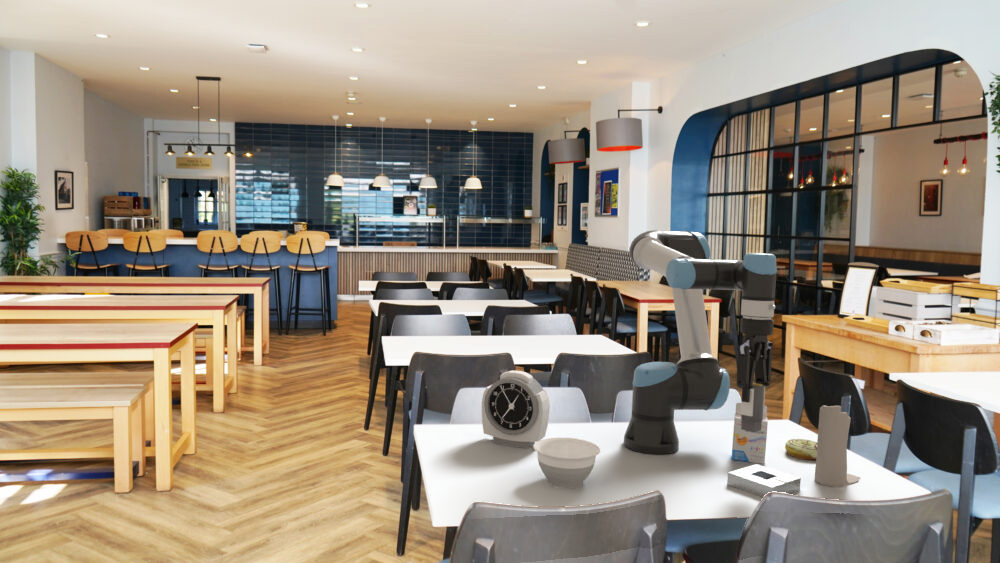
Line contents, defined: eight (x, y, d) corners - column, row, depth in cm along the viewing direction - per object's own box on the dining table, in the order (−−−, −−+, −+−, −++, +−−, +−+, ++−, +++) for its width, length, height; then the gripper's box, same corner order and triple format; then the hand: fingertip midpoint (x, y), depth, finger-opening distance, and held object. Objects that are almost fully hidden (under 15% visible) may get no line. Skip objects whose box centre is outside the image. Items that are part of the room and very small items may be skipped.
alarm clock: (478, 442, 212) (480, 370, 210) (490, 434, 220) (492, 365, 218) (539, 452, 205) (542, 378, 203) (549, 443, 213) (552, 372, 211)
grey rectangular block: (736, 429, 185) (738, 382, 184) (746, 426, 188) (749, 380, 187) (755, 433, 181) (758, 385, 180) (765, 430, 184) (768, 383, 184)
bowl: (550, 497, 172) (552, 460, 172) (521, 474, 187) (522, 440, 186) (611, 489, 179) (613, 454, 178) (577, 468, 193) (579, 435, 193)
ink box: (731, 460, 204) (735, 406, 203) (731, 454, 209) (735, 402, 208) (765, 464, 202) (768, 409, 200) (764, 459, 206) (768, 405, 205)
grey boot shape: (867, 479, 192) (873, 401, 191) (834, 488, 185) (840, 407, 183) (841, 471, 198) (847, 395, 197) (808, 479, 191) (814, 401, 189)
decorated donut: (821, 464, 204) (822, 451, 203) (780, 456, 210) (781, 442, 210) (830, 455, 212) (831, 442, 212) (790, 447, 218) (791, 434, 218)
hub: (727, 484, 185) (727, 471, 185) (755, 475, 192) (756, 463, 192) (771, 500, 176) (772, 486, 175) (799, 490, 183) (800, 477, 183)
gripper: (753, 321, 174) (748, 421, 175) (789, 317, 186) (784, 411, 188) (723, 317, 180) (719, 415, 181) (760, 314, 192) (756, 406, 193)
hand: (752, 413), depth 184 cm, fingers closed on grey rectangular block, 5 cm apart
